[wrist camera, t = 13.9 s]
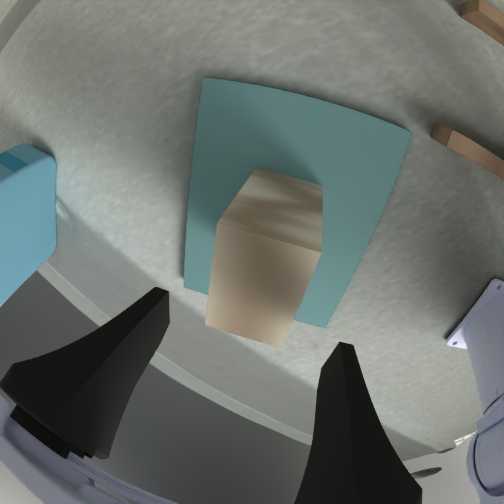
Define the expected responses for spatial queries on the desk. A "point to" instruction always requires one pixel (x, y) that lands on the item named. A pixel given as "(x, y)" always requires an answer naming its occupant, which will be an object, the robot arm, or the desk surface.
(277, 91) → the slate-teal mat
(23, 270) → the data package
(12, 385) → the robot arm
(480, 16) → the frame
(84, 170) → the desk surface
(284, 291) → the ash blank
